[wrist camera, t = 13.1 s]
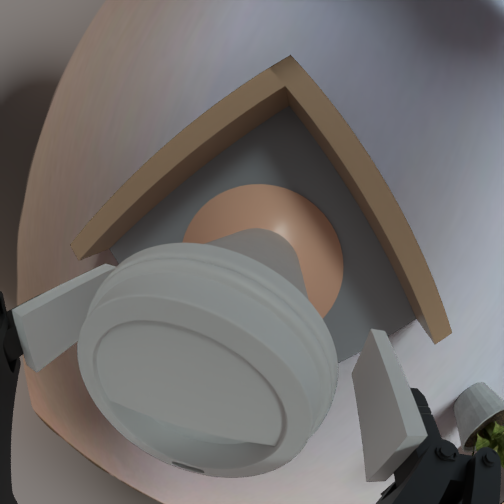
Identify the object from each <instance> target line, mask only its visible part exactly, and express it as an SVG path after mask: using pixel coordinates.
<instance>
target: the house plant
mask: <svg viewBox="0 0 504 504" xmlns="http://www.w3.org/2000/svg"><path fill="white" fill-rule="evenodd" d="M454 414H455V418H456V422H457V427H458V431H459V436H460V441H461V446H462V450H463V451H464V452H473V453H472V456H473V455H474V451H476V450H477V451H478V450H479V449H480V448H483V447H489V448H491V449H493V450H495V451H496V452H497V454H498V455H499V457H500V461H501V465H502V467H503V468H504V401H503V400H502V399H501V398H500V397H499V396H498V395H497V394H496V393H495V392H494V391H493V390H492V389H490V388H489V387H488V386H487V385H486V384H485V383H482V382H481V383H477V384H474V385H472V386H471V387H469V388H468V389H466V390H465V391H464V392H463V393H462V394H461V395H460V396H459V397H458V399H457V400H456V402H455V404H454Z"/></svg>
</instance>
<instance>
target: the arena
mask: <svg viewBox="0 0 504 504" xmlns="http://www.w3.org/2000/svg"><path fill="white" fill-rule="evenodd" d="M251 228H262V229H267V230H271V231H273V232H275V233H277V234H279V235H281V236H282V237H284V238H285V239H286V240H287V241H288V242H289V243H290V244H291V246H292V247H293V248H294V250H295V252H296V254H297V257H298V260H299V263H300V267H301V271H302V275H303V279H304V283H305V287H306V291H307V295H308V299H309V301H310V302H311V304H312V305H313V306H314V307H315V309H316V310H317V311H318V313H319V314H320V316H321V317H322V319H323V321H324V322H325V324H326V326H327V328H328V330H329V332H330V334H331V337H332V339H333V342H334V345H335V349H336V354H337V360H338V363H340V362H341V361H343V360H345V359H347V358H349V357H351V356H353V355H355V354H357V353H359V352H361V351H362V349H363V347H364V344H365V342H366V339H367V337H368V334H369V332H370V329H376V330H382V331H385V332H386V334H387V336H389V335H391V334H392V333H394V332H396V331H397V330H399V329H401V328H402V327H404V326H405V325H407V324H409V323H410V322H412V321H413V320H415V319H417V320H418V322H419V323H420V324H421V326H422V327H423V328H424V330H425V331H426V333H427V334H428V335H429V337H430V338H431V340H432V341H433V343H434V344H437V343H438V342H440V341H441V340H443V339H444V338H445V337H447V336H448V335H450V334H451V333H452V331H451V328H450V324H449V321H448V318H447V315H446V312H445V309H444V306H443V304H442V301H441V298H440V295H439V293H438V290H437V287H436V285H435V282H434V280H433V277H432V275H431V272H430V270H429V268H428V265H427V263H426V261H425V258H424V256H423V254H422V252H421V249H420V247H419V245H418V243H417V241H416V239H415V237H414V234H413V232H412V230H411V228H410V226H409V224H408V222H407V220H406V218H405V216H404V215H403V213H402V211H401V209H400V207H399V205H398V203H397V201H396V200H395V198H394V196H393V194H392V193H391V191H390V189H389V187H388V186H387V184H386V182H385V180H384V179H383V177H382V175H381V174H380V172H379V170H378V169H377V167H376V166H375V164H374V162H373V161H372V159H371V158H370V156H369V155H368V153H367V152H366V150H365V149H364V147H363V146H362V144H361V143H360V141H359V140H358V138H357V137H356V135H355V134H354V132H353V131H352V130H351V128H350V127H349V125H348V124H347V123H346V121H345V120H344V118H343V117H342V116H341V114H340V113H339V112H338V110H337V109H336V108H335V107H334V105H333V104H332V103H331V101H330V100H329V99H328V98H327V96H326V95H325V94H324V93H323V91H322V90H321V89H320V88H319V87H318V85H317V84H316V83H315V82H314V81H313V79H312V78H311V77H310V76H309V75H308V74H307V72H306V71H305V70H304V69H303V68H302V67H301V66H300V65H299V64H298V62H297V61H296V60H295V59H294V58H293V57H292V56H291V55H290V56H288V57H286V58H285V59H283V60H281V61H280V62H278V63H276V64H275V65H273V66H271V67H270V68H268V69H266V70H265V71H263V72H262V73H260V74H259V75H257V76H255V77H254V78H252V79H251V80H249V81H248V82H246V83H245V84H243V85H242V86H240V87H239V88H238V89H236V90H235V91H233V92H232V93H230V94H229V95H228V96H226V97H225V98H223V99H222V100H221V101H219V102H218V103H217V104H215V105H214V106H213V107H211V108H210V109H209V110H207V111H206V112H205V113H203V114H202V115H201V116H200V117H198V118H197V119H196V120H194V121H193V122H192V123H191V124H190V125H188V126H187V127H186V128H185V129H183V130H182V131H181V132H180V133H179V134H177V135H176V136H175V137H174V138H173V139H172V140H170V141H169V142H168V143H167V144H166V145H165V146H164V147H162V148H161V149H160V150H159V151H158V152H157V153H156V154H155V155H154V156H152V157H151V158H150V159H149V160H148V161H147V162H146V163H145V164H144V165H143V166H142V167H141V168H140V169H139V170H138V171H137V172H136V173H134V174H133V175H132V176H131V177H130V178H129V179H128V180H127V181H126V182H125V183H124V184H123V185H122V186H121V188H120V189H119V190H118V191H117V192H116V193H115V194H114V195H113V196H112V197H111V198H110V199H109V200H108V201H107V202H106V203H105V204H104V206H103V207H102V208H101V209H100V210H99V211H98V212H97V213H96V214H95V216H94V217H93V218H92V219H91V220H90V221H89V222H88V224H87V225H86V226H85V227H84V228H83V229H82V231H81V232H80V233H79V234H78V236H77V237H76V238H75V239H74V240H73V242H72V243H71V244H70V246H71V248H72V249H73V251H74V253H75V255H76V257H77V258H78V260H79V261H80V260H82V259H85V258H87V257H90V256H92V255H95V254H97V253H100V252H102V251H105V250H107V249H110V251H111V252H112V254H113V255H114V257H115V259H116V260H117V262H118V263H119V264H120V263H121V262H123V261H124V260H125V259H127V258H128V257H130V256H132V255H133V254H135V253H137V252H139V251H142V250H144V249H147V248H150V247H154V246H158V245H162V244H169V243H199V244H205V243H208V242H211V241H213V240H216V239H219V238H222V237H225V236H228V235H231V234H233V233H236V232H239V231H242V230H246V229H251Z"/></svg>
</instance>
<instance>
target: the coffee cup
mask: <svg viewBox="0 0 504 504" xmlns="http://www.w3.org/2000/svg"><path fill="white" fill-rule="evenodd" d="M77 355H78V363H79V368H80V372H81V375H82V378H83V381H84V384H85V386H86V388H87V390H88V392H89V394H90V396H91V398H92V399H93V401H94V403H95V404H96V406H97V407H98V409H99V410H100V411H101V413H102V414H103V415H104V416H105V418H106V419H107V420H108V421H109V422H110V423H111V424H112V425H113V426H114V427H115V428H116V429H117V430H118V431H119V432H120V433H121V434H122V435H123V436H124V437H125V438H127V439H128V440H129V441H130V442H132V443H133V444H134V445H136V446H137V447H139V448H140V449H142V450H143V451H145V452H146V453H148V454H150V455H151V456H153V457H155V458H157V459H159V460H161V461H163V462H165V463H167V464H170V465H172V466H175V467H177V468H180V469H183V470H186V471H189V472H193V473H197V474H202V475H207V476H214V477H225V478H238V477H249V476H255V475H260V474H264V473H267V472H270V471H272V470H275V469H277V468H279V467H281V466H283V465H285V464H286V463H288V462H289V461H291V460H292V459H293V458H294V457H296V456H297V455H298V454H299V452H300V451H301V450H302V449H303V447H304V446H305V444H306V443H307V441H308V439H309V438H310V437H311V436H312V435H313V434H314V433H315V432H316V430H317V429H318V428H319V426H320V425H321V423H322V422H323V420H324V418H325V417H326V415H327V413H328V411H329V409H330V406H331V404H332V401H333V398H334V394H335V391H336V387H337V381H338V360H337V354H336V349H335V345H334V342H333V339H332V337H331V334H330V332H329V330H328V328H327V326H326V324H325V322H324V321H323V319H322V317H321V316H320V314H319V313H318V311H317V310H316V309H315V307H314V306H313V305H312V304H311V302H310V301H309V299H308V295H307V291H306V287H305V283H304V279H303V275H302V271H301V267H300V263H299V260H298V257H297V254H296V252H295V250H294V248H293V247H292V246H291V244H290V243H289V242H288V241H287V240H286V239H285V238H284V237H282V236H281V235H279V234H277V233H275V232H273V231H271V230H267V229H262V228H251V229H246V230H242V231H239V232H236V233H233V234H231V235H228V236H225V237H222V238H219V239H216V240H213V241H211V242H208V243H205V244H199V243H169V244H162V245H158V246H154V247H150V248H147V249H144V250H142V251H139V252H137V253H135V254H133V255H132V256H130V257H128V258H127V259H125V260H124V261H123V262H121V263H120V264H119V265H118V266H117V267H116V268H115V269H114V270H113V271H112V272H111V273H110V274H109V276H108V277H107V278H106V279H105V280H104V281H103V283H102V284H101V286H100V287H99V289H98V290H97V292H96V294H95V296H94V298H93V300H92V302H91V304H90V307H89V310H88V313H87V318H86V320H85V322H84V323H83V326H82V328H81V330H80V334H79V338H78V345H77Z"/></svg>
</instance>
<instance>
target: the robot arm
mask: <svg viewBox="0 0 504 504" xmlns="http://www.w3.org/2000/svg"><path fill="white" fill-rule="evenodd" d="M115 268H116V267H115V266H112V265H109V264H103V265H101V266H99V267H97V268H95V269H93V270H90V271H88V272H86V273H84V274H82V275H80V276H78V277H76V278H74V279H72V280H69V281H67V282H65V283H63V284H61V285H59V286H57V287H55V288H53V289H51V290H49V291H47V292H45V293H42V294H40V295H38V296H36V297H34V298H32V299H30V300H28V301H26V302H25V303H23V304H21V305H19V306H17V307H15V308H13V309H11V310H9V311H6V307H5V302H4V298H3V294H2V292H1V291H0V504H18V503H17V501H16V500H15V498H14V495H13V493H12V484H11V430H12V417H13V408H14V400H15V392H16V387H17V381H18V374H19V369H20V358H19V357H20V356H21V355H23V354H24V358H25V361H26V364H27V365H28V366H29V367H30V368H32V369H33V370H34V371H35V372H39V371H40V370H41V369H42V368H44V367H45V366H46V365H47V364H49V363H50V362H51V361H53V360H54V359H55V358H56V357H58V356H59V355H60V354H62V353H63V352H64V351H66V350H67V349H68V348H69V347H71V346H72V345H73V344H75V343H76V342H77V341H78V338H79V334H80V330H81V328H82V326H83V323H84V322H85V320H86V318H87V313H88V310H89V307H90V304H91V302H92V300H93V298H94V296H95V294H96V292H97V290H98V289H99V287H100V286H101V284H102V283H103V281H104V280H105V279H106V278H107V277H108V276H109V274H110V273H111V272H112V271H113V270H114V269H115ZM352 378H353V384H354V390H355V396H356V402H357V408H358V415H359V422H360V429H361V436H362V444H363V453H364V462H365V472H366V482H377V481H386V480H387V479H388V478H389V477H390V476H391V475H392V474H393V473H394V476H395V482H394V483H392V484H391V485H390V486H389V487H388V488H387V489H386V490H385V491H383V492H382V493H381V495H382V497H381V498H380V499H379V500H378V502H377V503H376V504H499V501H500V485H501V461H500V457H499V455H498V454H497V452H496V451H495V450H493V449H491V448H489V447H483V448H480V449H479V450H478V451H477V453H476V454H475V455H474V456H470V455H464V454H459V452H458V449H457V448H456V447H455V445H454V444H452V443H451V442H450V441H447V440H442V438H441V436H440V433H439V430H438V428H437V425H436V423H435V420H434V418H433V415H431V410H430V408H429V407H428V403H427V401H426V399H425V396H424V395H423V394H422V393H421V392H420V391H419V390H418V389H417V388H410V387H409V384H408V382H407V380H406V377H405V375H404V372H403V370H402V368H401V365H400V363H399V361H398V358H397V356H396V354H395V352H394V349H393V347H392V345H391V343H390V341H389V339H388V336H387V334H386V332H385V331H382V330H376V329H370V332H369V334H368V337H367V339H366V342H365V344H364V347H363V349H362V351H361V354H360V356H359V358H358V361H357V363H356V365H355V367H354V370H353V372H352Z"/></svg>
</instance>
